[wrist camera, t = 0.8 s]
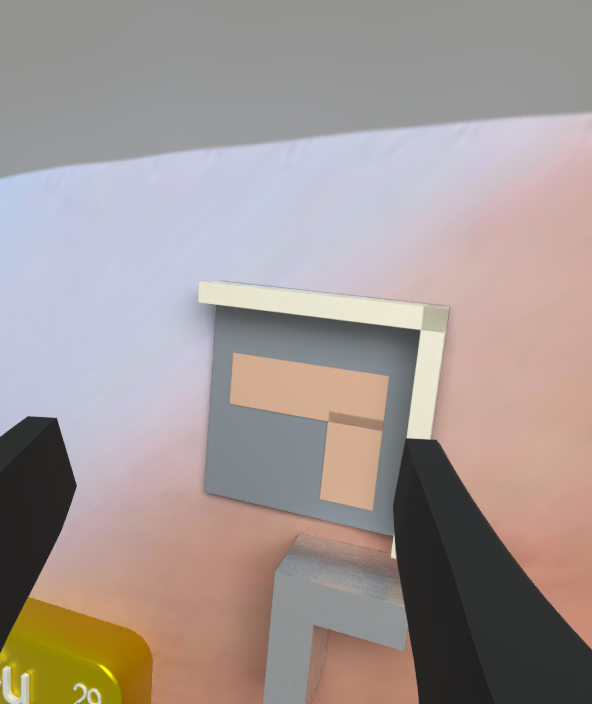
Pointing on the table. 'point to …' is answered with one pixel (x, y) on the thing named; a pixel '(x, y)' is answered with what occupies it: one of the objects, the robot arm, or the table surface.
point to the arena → (319, 398)
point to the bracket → (328, 611)
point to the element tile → (72, 660)
